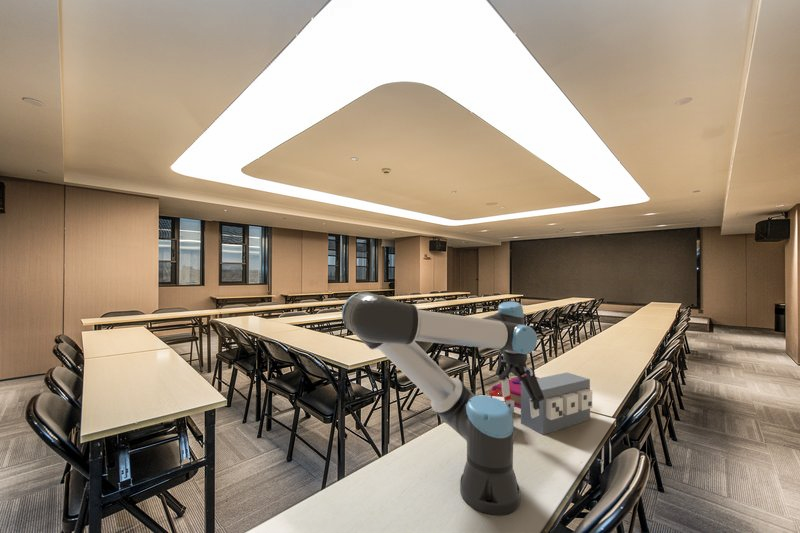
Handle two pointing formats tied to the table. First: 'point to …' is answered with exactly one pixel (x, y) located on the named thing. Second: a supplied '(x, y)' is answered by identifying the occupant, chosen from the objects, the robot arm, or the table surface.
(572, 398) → the one dot tile
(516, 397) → the book
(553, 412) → the three dot tile
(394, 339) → the robot arm
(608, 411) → the table surface
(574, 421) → the tile console
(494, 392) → the ink cartridge box
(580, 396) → the two dot tile
